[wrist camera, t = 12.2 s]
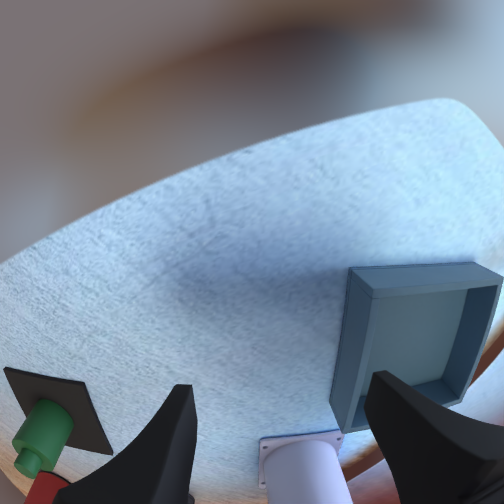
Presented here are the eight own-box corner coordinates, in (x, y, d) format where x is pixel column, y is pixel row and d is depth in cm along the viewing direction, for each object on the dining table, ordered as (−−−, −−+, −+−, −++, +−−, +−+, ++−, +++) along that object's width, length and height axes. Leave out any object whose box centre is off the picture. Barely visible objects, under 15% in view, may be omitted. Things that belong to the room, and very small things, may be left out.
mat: (113, 452, 24) (112, 455, 24) (39, 435, 24) (38, 437, 23) (84, 382, 22) (82, 385, 21) (5, 366, 21) (2, 369, 21)
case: (441, 379, 24) (461, 402, 20) (329, 402, 24) (341, 434, 20) (473, 261, 21) (504, 277, 17) (348, 267, 20) (373, 289, 16)
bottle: (79, 433, 23) (54, 492, 15) (46, 425, 23) (17, 477, 15) (65, 403, 22) (31, 463, 14) (30, 395, 22) (-5, 448, 14)
